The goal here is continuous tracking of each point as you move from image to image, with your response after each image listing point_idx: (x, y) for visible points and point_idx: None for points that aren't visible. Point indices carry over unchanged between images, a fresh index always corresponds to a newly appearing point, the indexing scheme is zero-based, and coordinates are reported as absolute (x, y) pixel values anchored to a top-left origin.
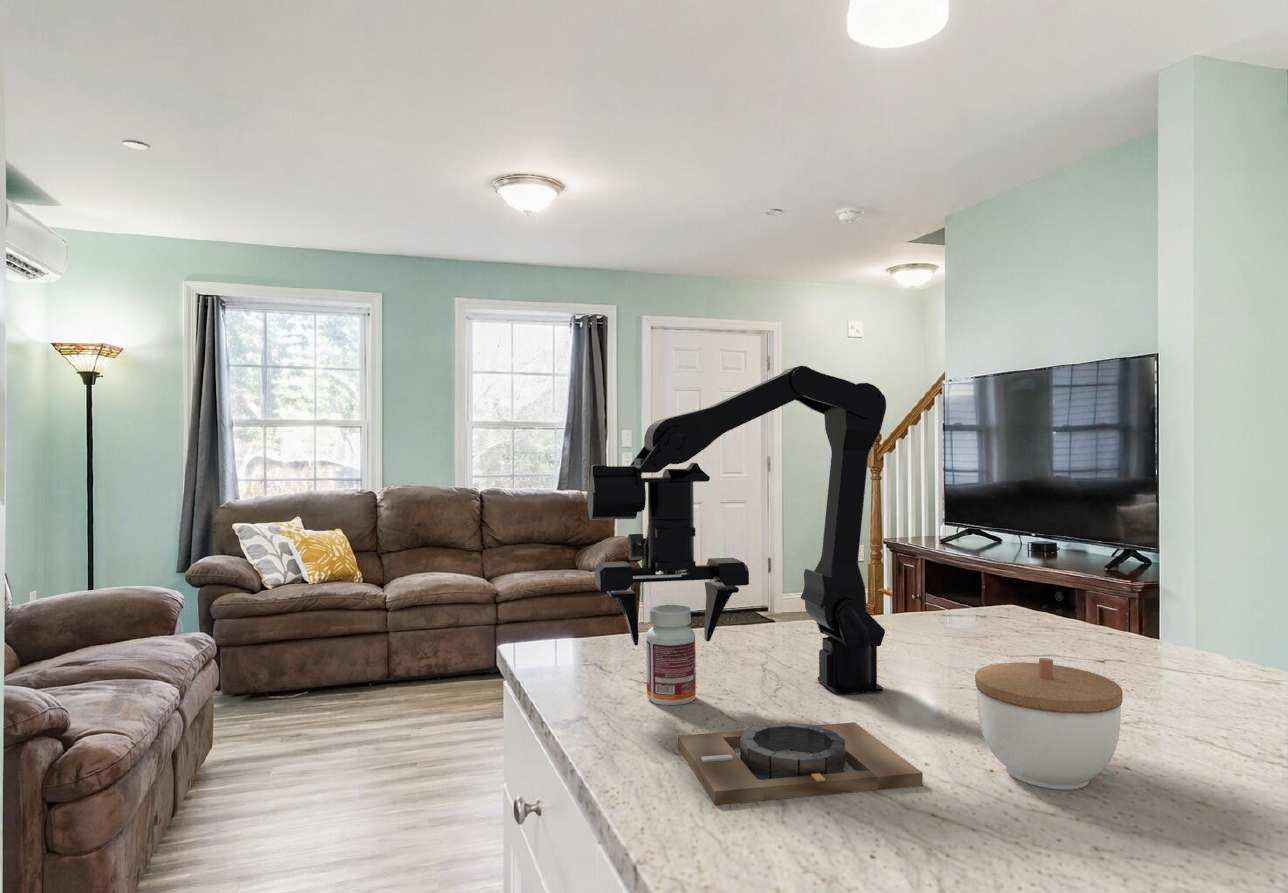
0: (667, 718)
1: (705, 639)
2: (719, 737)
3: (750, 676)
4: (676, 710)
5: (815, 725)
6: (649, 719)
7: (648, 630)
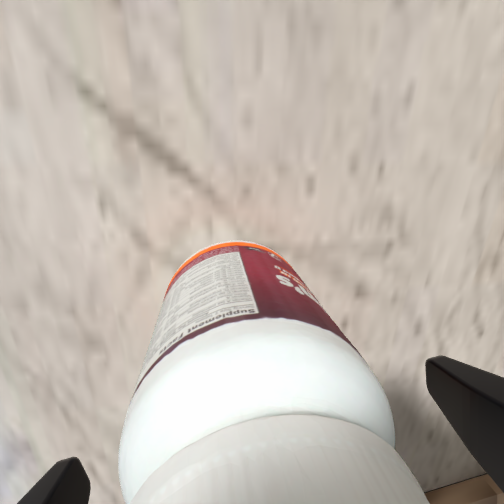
0: None
1: (428, 371)
2: None
3: (494, 67)
4: None
5: (495, 495)
6: None
7: (123, 478)
